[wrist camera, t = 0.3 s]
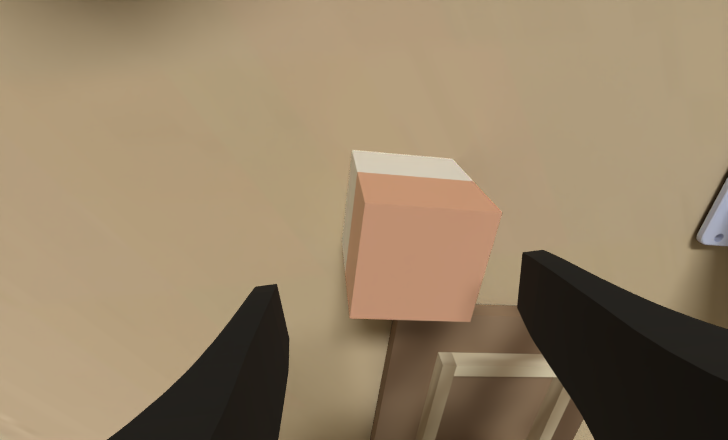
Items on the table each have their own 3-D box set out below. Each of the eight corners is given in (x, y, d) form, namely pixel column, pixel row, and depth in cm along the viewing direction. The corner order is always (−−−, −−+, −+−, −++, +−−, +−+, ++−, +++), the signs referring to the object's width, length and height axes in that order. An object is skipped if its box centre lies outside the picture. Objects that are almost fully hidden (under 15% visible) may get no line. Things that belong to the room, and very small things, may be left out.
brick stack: (452, 158, 20) (502, 212, 14) (432, 246, 22) (470, 321, 16) (351, 149, 19) (365, 202, 14) (341, 240, 21) (349, 318, 16)
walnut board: (622, 309, 25) (645, 332, 23) (549, 458, 31) (563, 485, 29) (396, 301, 23) (402, 325, 21) (365, 462, 29) (368, 491, 27)
